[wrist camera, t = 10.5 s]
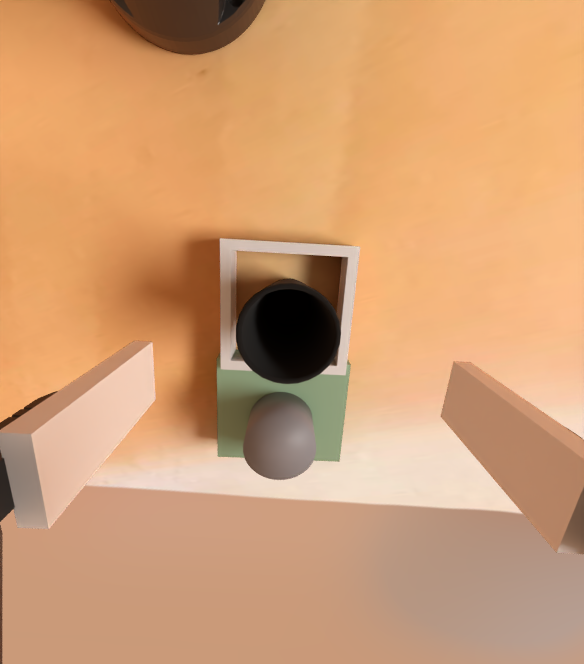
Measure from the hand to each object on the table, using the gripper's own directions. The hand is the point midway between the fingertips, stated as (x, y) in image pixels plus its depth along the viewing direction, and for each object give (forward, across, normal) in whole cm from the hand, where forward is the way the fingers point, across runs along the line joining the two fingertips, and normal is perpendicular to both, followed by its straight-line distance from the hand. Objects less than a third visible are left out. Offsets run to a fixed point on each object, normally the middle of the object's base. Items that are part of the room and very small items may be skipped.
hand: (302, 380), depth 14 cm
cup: (+21, -1, -1) cm, 21 cm away
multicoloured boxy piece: (+21, -1, -6) cm, 22 cm away
